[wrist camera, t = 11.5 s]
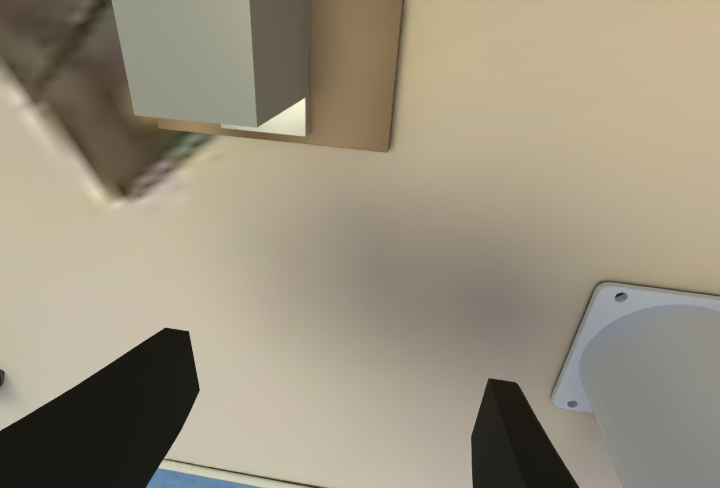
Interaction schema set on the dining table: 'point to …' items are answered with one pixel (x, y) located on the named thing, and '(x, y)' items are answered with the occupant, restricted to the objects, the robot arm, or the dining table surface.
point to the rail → (298, 114)
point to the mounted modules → (213, 58)
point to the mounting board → (341, 77)
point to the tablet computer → (207, 478)
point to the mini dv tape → (1, 377)
